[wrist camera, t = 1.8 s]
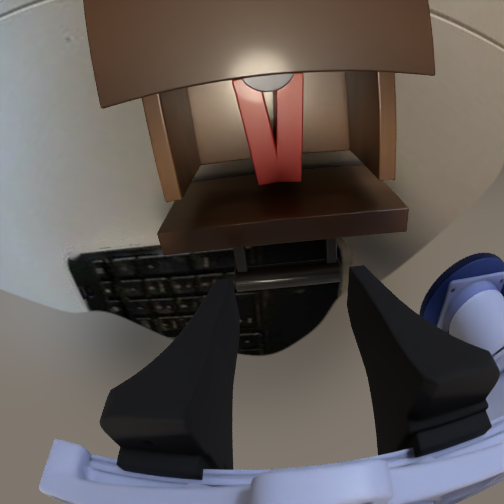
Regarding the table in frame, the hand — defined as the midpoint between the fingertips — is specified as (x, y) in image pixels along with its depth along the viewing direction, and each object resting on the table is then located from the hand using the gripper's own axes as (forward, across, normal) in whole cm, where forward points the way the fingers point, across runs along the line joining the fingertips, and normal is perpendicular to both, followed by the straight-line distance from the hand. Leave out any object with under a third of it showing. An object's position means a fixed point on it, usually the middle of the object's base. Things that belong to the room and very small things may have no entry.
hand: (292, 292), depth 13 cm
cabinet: (+9, 0, -16) cm, 18 cm away
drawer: (+8, 0, -6) cm, 10 cm away
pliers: (+7, 0, -8) cm, 11 cm away
